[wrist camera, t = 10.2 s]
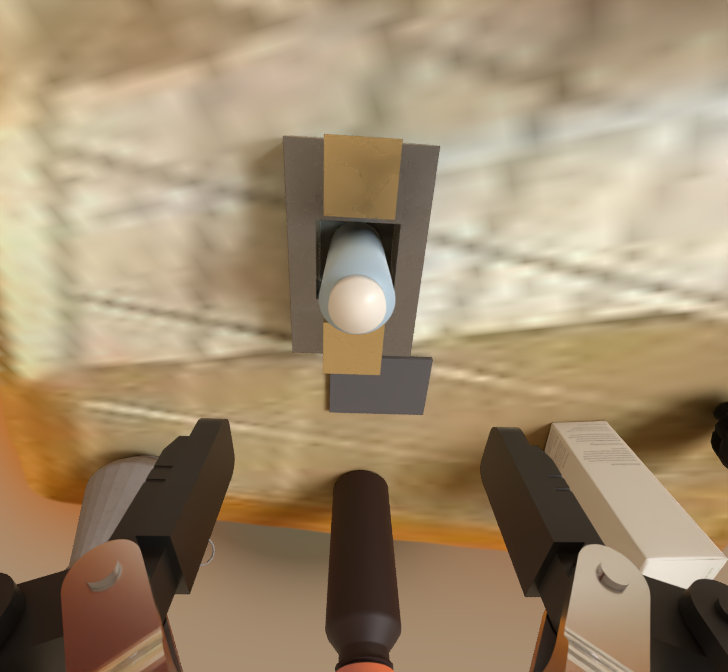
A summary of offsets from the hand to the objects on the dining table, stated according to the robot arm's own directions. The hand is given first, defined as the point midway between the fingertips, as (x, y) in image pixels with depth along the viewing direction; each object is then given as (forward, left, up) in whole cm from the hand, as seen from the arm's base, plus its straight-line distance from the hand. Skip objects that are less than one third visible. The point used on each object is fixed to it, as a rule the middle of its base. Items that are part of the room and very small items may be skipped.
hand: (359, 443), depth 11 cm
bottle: (+30, +2, -22) cm, 37 cm away
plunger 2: (+6, 0, -20) cm, 21 cm away
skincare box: (+22, +26, -22) cm, 41 cm away
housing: (0, 0, -22) cm, 22 cm away
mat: (+14, +3, -22) cm, 26 cm away
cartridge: (0, 0, -22) cm, 22 cm away
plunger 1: (-6, 0, -20) cm, 21 cm away
